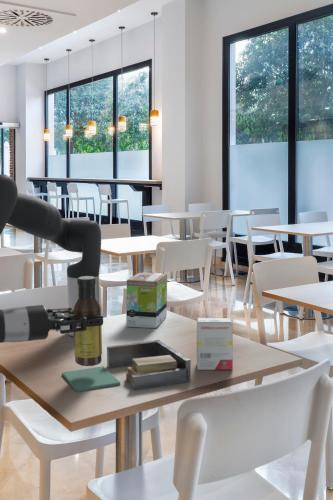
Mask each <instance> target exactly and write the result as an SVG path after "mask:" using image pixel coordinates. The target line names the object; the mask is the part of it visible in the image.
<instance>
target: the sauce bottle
mask: <svg viewBox="0 0 333 500" xmlns="http://www.w3.org/2000/svg"><path fill="white" fill-rule="evenodd" d="M77 283H78V286H79V294H78V296H79V299H78V300H77V302H76V304H75V306H74V314H76V315H77V316H85V317H87V316H97V315H101V316H102V306H101V303H100V304H99V303H98V301H97V299H96V298H95V295H96V294H95V283H96V279H95V277H93V276H82V277H78V280H77ZM77 325H81V322H80V323H77ZM102 327H103V325H101V326H92V327H87V330H86V331H79V332H74V337H73V341H74V356H75V357H74V358H75V359H74V361H75V363H76V364H77V365H79V366H82V367H94V366H97V365H99V364H101V363H102V358H103V357H102V354H103V342H102V341H103V340H102V339H103V335H102V334H103V333H102V329H103V328H102Z"/></svg>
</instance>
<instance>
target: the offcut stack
mask: <svg viewBox="0 0 333 500" xmlns="http://www.w3.org/2000/svg"><path fill="white" fill-rule="evenodd" d="M171 369H177V361H176V360H175V359H174V358H173V357H171V356H170V355H165V356H155V357H146V358H136V359H133V365H132V366H127V372H125V379H126V381H127V382H129V383H130V384H131V385H132V375H139V374H145V373H152V372H158V371H165V370H171Z"/></svg>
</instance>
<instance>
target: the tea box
mask: <svg viewBox="0 0 333 500" xmlns="http://www.w3.org/2000/svg"><path fill="white" fill-rule="evenodd" d="M167 298H168V273H159V272H155V273H154V272H138V273H135V274H134V275H133V276H130V277H129V278H127V279H126V309H125V310H126V311H125V312H126V315H125V317H126V318H125V322H126V323H125V325H126V326H125V327H128V328H129V327H130V328H141V329H142V328H144V329H145V328H146V329H156V328H157V327H158V326H160V324H161V323H162V322H164V320H166V318H167V315H168V314H167V311H168V309H167V307H168V306H167V305H168V299H167Z"/></svg>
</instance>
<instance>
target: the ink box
mask: <svg viewBox="0 0 333 500" xmlns="http://www.w3.org/2000/svg"><path fill="white" fill-rule="evenodd" d="M233 323H234V322H233V320H232V318H231V317H226V318H225V317H219V318H218V317H197V318H196V369H197V370H198V371H206V370H207V371H208V370H209V371H210V370H212V371H213V370H214V371H218V370H219V371H221V370H223V371H224V370H228V371H229V370H230V371H231V370H233V369H234V367H233V363H234V362H233V360H234V355H233V353H234V352H233V350H234V348H233V346H234V343H233V339H234V337H233V335H234V333H233V331H234V329H233V328H234V325H233Z"/></svg>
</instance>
